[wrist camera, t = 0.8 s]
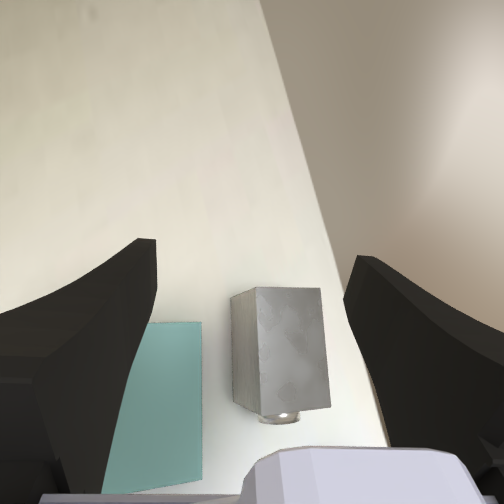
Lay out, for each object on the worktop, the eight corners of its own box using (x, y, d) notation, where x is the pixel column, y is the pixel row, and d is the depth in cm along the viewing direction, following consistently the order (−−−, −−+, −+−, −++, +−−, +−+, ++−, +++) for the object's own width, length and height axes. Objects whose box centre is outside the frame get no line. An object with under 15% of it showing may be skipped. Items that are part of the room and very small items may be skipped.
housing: (291, 408, 28) (332, 423, 23) (233, 415, 26) (262, 434, 21) (284, 298, 30) (320, 287, 25) (230, 298, 28) (255, 287, 23)
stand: (194, 467, 24) (202, 479, 22) (31, 494, 21) (21, 512, 19) (194, 323, 27) (201, 321, 25) (48, 327, 23) (41, 325, 21)
